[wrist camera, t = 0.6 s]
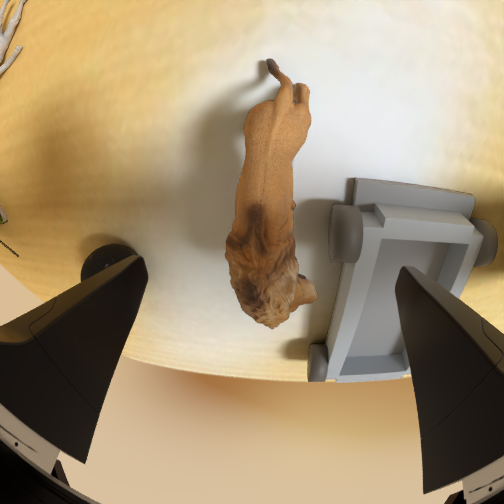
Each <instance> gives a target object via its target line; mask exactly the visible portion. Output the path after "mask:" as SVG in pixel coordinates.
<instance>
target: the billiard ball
mask: <svg viewBox="0 0 504 504" xmlns="http://www.w3.org/2000/svg"><path fill="white" fill-rule="evenodd" d="M130 256H137V255H136V254H135V253H134V252H133V251H132V250H131V249H129V248H127V247H125V246H123V245H118V244H109V245H105V246H102V247H100V248H98V249H96V250H95V251H93V252H92V253H91V254H90V255H89V256H88V257H87V259H86V260H85V262H84V264H83V267H82V270H81V282H83V281H84V280H86V279H88V278H90V277H92V276H94V275H95V274H97V273H99V272H101V271H103V270H105V269H107V268H109V267H110V266H112V265H114V264H116V263H118V262H120V261H122V260H124V259H126V258H128V257H130Z"/></svg>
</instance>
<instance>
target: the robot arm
mask: <svg viewBox="0 0 504 504" xmlns="http://www.w3.org/2000/svg"><path fill="white" fill-rule="evenodd" d="M147 282H148V272H147V269H146V265H145V262H144V259H143V257H142V256H130V257H128V258H126V259H124V260H122V261H120V262H118V263H116V264H114V265H112V266H110V267H109V268H107V269H105V270H103V271H101V272H99V273H97V274H95V275H94V276H92V277H90V278H88V279H86V280H84V281H83V282H81V283H79V284H77V285H75V286H74V287H72V288H70V289H68V290H66V291H65V292H63V293H61V294H59V295H58V296H56V297H54V298H52V299H51V300H49V301H47V302H45V303H44V304H42V305H40V306H39V307H36V308H35V309H33V310H31V311H29V312H27V313H25V314H23V315H21V316H20V317H18V318H16V319H14V320H12V321H10V322H8V323H6V324H4V325H2V326H0V504H100V503H98V502H96V501H94V500H92V499H90V498H89V497H87V496H85V495H83V494H81V493H79V492H78V491H76V490H74V489H72V488H71V487H70V486H69V483H68V481H67V478H66V476H65V473H64V470H63V467H62V465H61V462H60V461H59V460H57V457H58V455H59V452H60V451H62V452H64V453H65V454H67V455H69V456H70V457H72V458H74V459H76V460H78V461H80V462H82V463H83V464H85V463H86V460H87V456H88V452H89V449H90V445H91V442H92V438H93V435H94V431H95V428H96V425H97V421H98V418H99V415H100V412H101V409H102V405H103V403H104V400H105V397H106V394H107V391H108V388H109V385H110V382H111V379H112V377H113V374H114V371H115V369H116V366H117V363H118V361H119V358H120V355H121V353H122V350H123V348H124V345H125V343H126V340H127V338H128V335H129V333H130V331H131V328H132V326H133V323H134V321H135V319H136V316H137V313H138V310H139V307H140V304H141V301H142V298H143V295H144V292H145V288H146V285H147ZM395 296H396V301H397V307H398V313H399V320H400V326H401V331H402V335H403V339H404V343H405V347H406V352H407V356H408V361H409V365H410V370H411V375H412V381H413V386H414V392H415V397H416V404H417V411H418V419H419V427H420V437H421V451H422V466H423V494H426V493H429V492H432V491H435V490H438V489H441V488H444V487H446V486H449V485H451V484H454V483H456V482H459V481H461V480H462V482H463V490H461V491H459V492H457V493H454V494H452V495H450V496H449V497H448V499H447V500H446V502H445V503H444V504H504V334H503V333H502V332H500V331H499V330H498V329H497V328H495V327H494V326H493V325H492V324H490V323H489V322H488V321H487V320H485V319H484V318H483V317H482V318H481V316H480V315H479V314H478V313H477V312H475V311H474V310H473V309H471V308H470V307H469V306H468V305H466V304H465V303H464V302H462V301H461V300H460V299H458V298H457V297H456V296H454V295H453V294H452V293H450V292H449V291H448V290H446V289H445V288H444V287H442V286H441V285H439V284H438V283H437V282H435V281H434V280H432V279H431V278H430V277H428V276H427V275H425V274H424V273H422V272H421V271H419V270H418V269H417V268H415V267H414V266H402V267H401V269H400V271H399V275H398V278H397V281H396V284H395Z"/></svg>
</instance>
